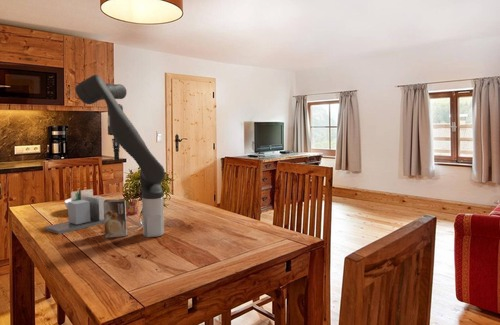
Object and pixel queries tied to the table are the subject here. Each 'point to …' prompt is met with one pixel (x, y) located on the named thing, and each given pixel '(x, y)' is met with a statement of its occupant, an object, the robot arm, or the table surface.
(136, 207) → the smoothie
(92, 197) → the stand
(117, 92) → the robot arm
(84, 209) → the grey box
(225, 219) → the table surface
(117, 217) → the coffee box
